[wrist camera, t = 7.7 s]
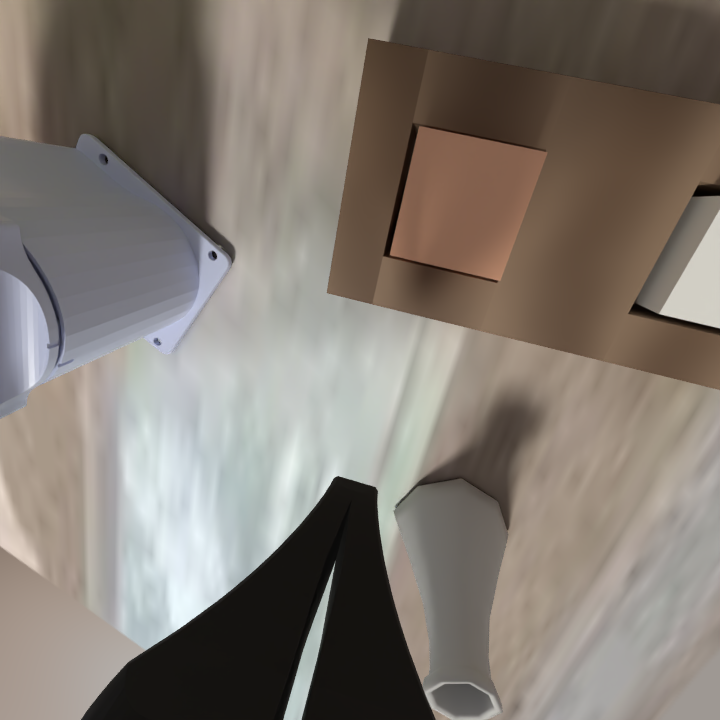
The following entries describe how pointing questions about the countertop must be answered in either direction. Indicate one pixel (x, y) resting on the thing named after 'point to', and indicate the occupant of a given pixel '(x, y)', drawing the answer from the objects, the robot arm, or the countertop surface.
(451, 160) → the salmon pink cube
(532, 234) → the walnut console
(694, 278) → the white cube
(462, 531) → the flask
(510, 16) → the countertop surface
